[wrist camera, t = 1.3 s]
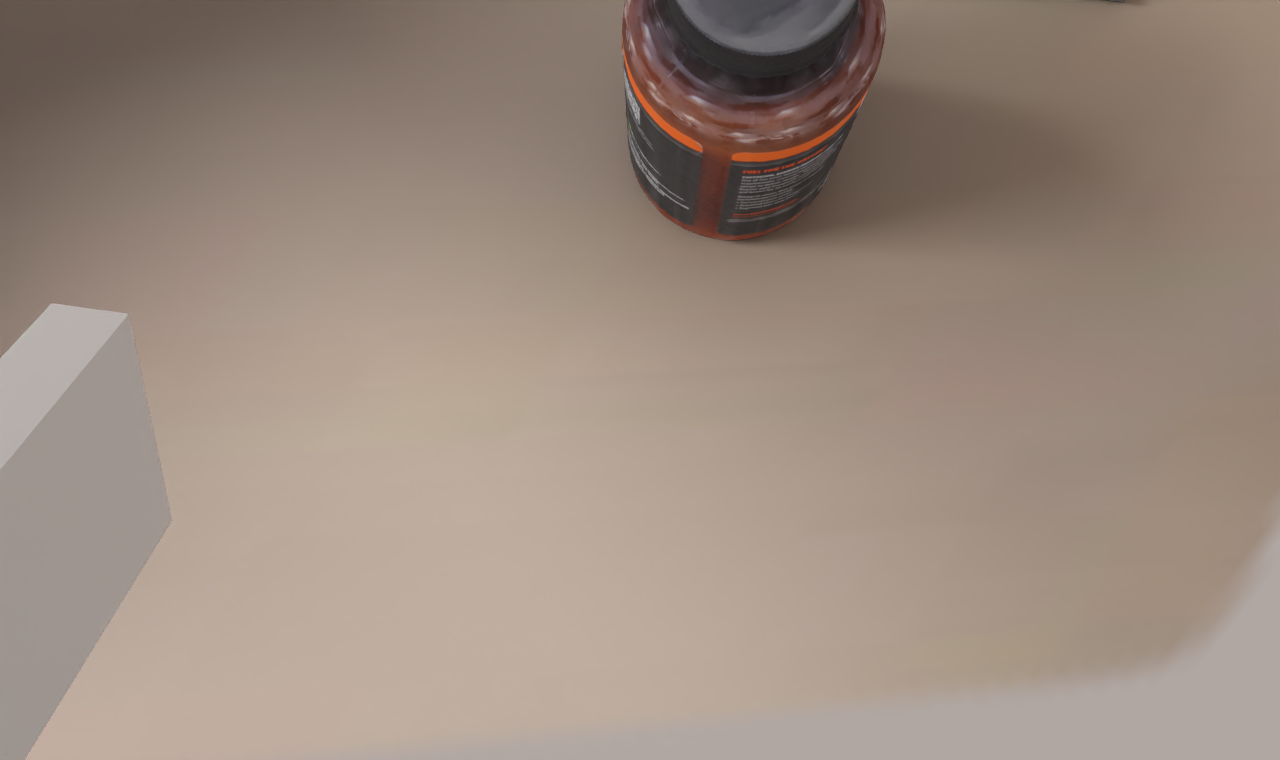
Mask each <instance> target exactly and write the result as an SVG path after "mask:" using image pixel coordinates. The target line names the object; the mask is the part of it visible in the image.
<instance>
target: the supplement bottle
mask: <svg viewBox="0 0 1280 760" xmlns="http://www.w3.org/2000/svg"><path fill="white" fill-rule="evenodd" d="M885 31H886V30H885V9H884V4H883V0H626V1H625V5H624V13H623V23H622V36H623V45H622V49H623V61H624V80H625V96H626V116H627V128H628V143H629V150H630V156H631V160H632V164H633V168H634V170H635V174H636V177H637V179H638V181H639V184H640V185H641V187H642V189H643V190H644V192H645V193H646V195H647V197H648V198H649V200H650V201H651V202H652V203H653V204H654V205H655V207H656V208H657V209H658V210H659V211H660V212H661V213H662V214H663V215H664V216H665V217H667V218H668V219H669V220H671V221H672V222H674V223H675V224H677V225H679V226H681V227H682V228H684V229H686V230H689V231H691V232H693V233H696V234H699V235H702V236H706V237H710V238H715V239H721V240H741V239H749V238H753V237H758V236H761V235H765V234H768V233H770V232H772V231H775V230H777V229H779V228H781V227H782V226H784V225H786V224H788V223H789V222H791V221H792V220H794V219H795V218H797V217H798V216H799V215H800V214H801V213H802V212H803V211H804V210H805V209H806V208H807V207H808V206H809V205H810V203H811V202H812V201H813V200H814V198H815V197H816V195H817V194H818V193H819V191H820V190H821V189H822V187H823V185H824V183H825V181H826V179H827V177H828V175H829V173H830V171H831V168H832V167H833V165H834V162H835V160H836V158H837V156H838V154H839V151H840V150H841V148H842V145H843V143H844V141H845V139H846V137H847V135H848V133H849V131H850V129H851V127H852V124H853V121H854V120H855V118H856V116H857V114H858V111H859V109H860V107H861V104H862V102H863V100H864V98H865V96H866V94H867V91H868V89H869V87H870V85H871V82H872V80H873V78H874V75H875V73H876V71H877V68H878V64H879V61H880V58H881V53H882V48H883V44H884V37H885Z"/></svg>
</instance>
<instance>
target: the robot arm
mask: <svg viewBox="0 0 1280 760" xmlns="http://www.w3.org/2000/svg"><path fill="white" fill-rule="evenodd" d="M171 521H172V518H171V513H170V508H169V503H168V498H167V494H166V489H165V484H164V479H163V474H162V470H161V465H160V460H159V455H158V450H157V446H156V441H155V436H154V431H153V426H152V422H151V417H150V412H149V407H148V402H147V398H146V393H145V388H144V383H143V378H142V374H141V369H140V364H139V359H138V354H137V350H136V345H135V340H134V335H133V330H132V326H131V321H130V316H129V314H127V313H120V312H113V311H106V310H98V309H91V308H84V307H77V306H69V305H62V304H55V303H51V304H50V305H49V306H48V307H47V309H46V310H45V311H44V312H43V313H42V314H41V315H40V316H39V317H38V318H37V319H36V320H35V321H34V322H33V324H32V325H31V326H30V327H29V328H28V329H27V330H26V331H25V332H24V333H23V334H22V335H21V336H20V338H19V339H18V340H17V341H16V342H15V343H14V344H13V345H12V346H11V347H10V348H9V349H8V350H7V351H6V353H5V354H4V355H3V356H2V357H1V358H0V760H25V758H26V757H27V755H28V753H29V752H30V750H31V748H32V747H33V745H34V744H35V742H36V740H37V739H38V737H39V735H40V734H41V732H42V731H43V729H44V727H45V726H46V724H47V722H48V721H49V719H50V718H51V716H52V714H53V713H54V711H55V709H56V708H57V706H58V705H59V703H60V701H61V700H62V698H63V696H64V695H65V693H66V692H67V690H68V688H69V687H70V685H71V683H72V682H73V680H74V679H75V677H76V675H77V674H78V672H79V670H80V669H81V667H82V666H83V664H84V662H85V661H86V659H87V657H88V656H89V654H90V653H91V651H92V649H93V648H94V646H95V644H96V643H97V641H98V640H99V638H100V636H101V635H102V633H103V631H104V630H105V628H106V627H107V625H108V623H109V622H110V620H111V618H112V617H113V615H114V614H115V612H116V610H117V609H118V607H119V605H120V604H121V602H122V601H123V599H124V597H125V596H126V594H127V592H128V591H129V589H130V588H131V586H132V584H133V583H134V581H135V580H136V578H137V576H138V575H139V573H140V571H141V570H142V568H143V567H144V565H145V563H146V562H147V560H148V558H149V557H150V555H151V554H152V552H153V550H154V549H155V547H156V545H157V544H158V542H159V541H160V539H161V537H162V536H163V534H164V532H165V531H166V529H167V528H168V526H169V524H170V523H171Z"/></svg>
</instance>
